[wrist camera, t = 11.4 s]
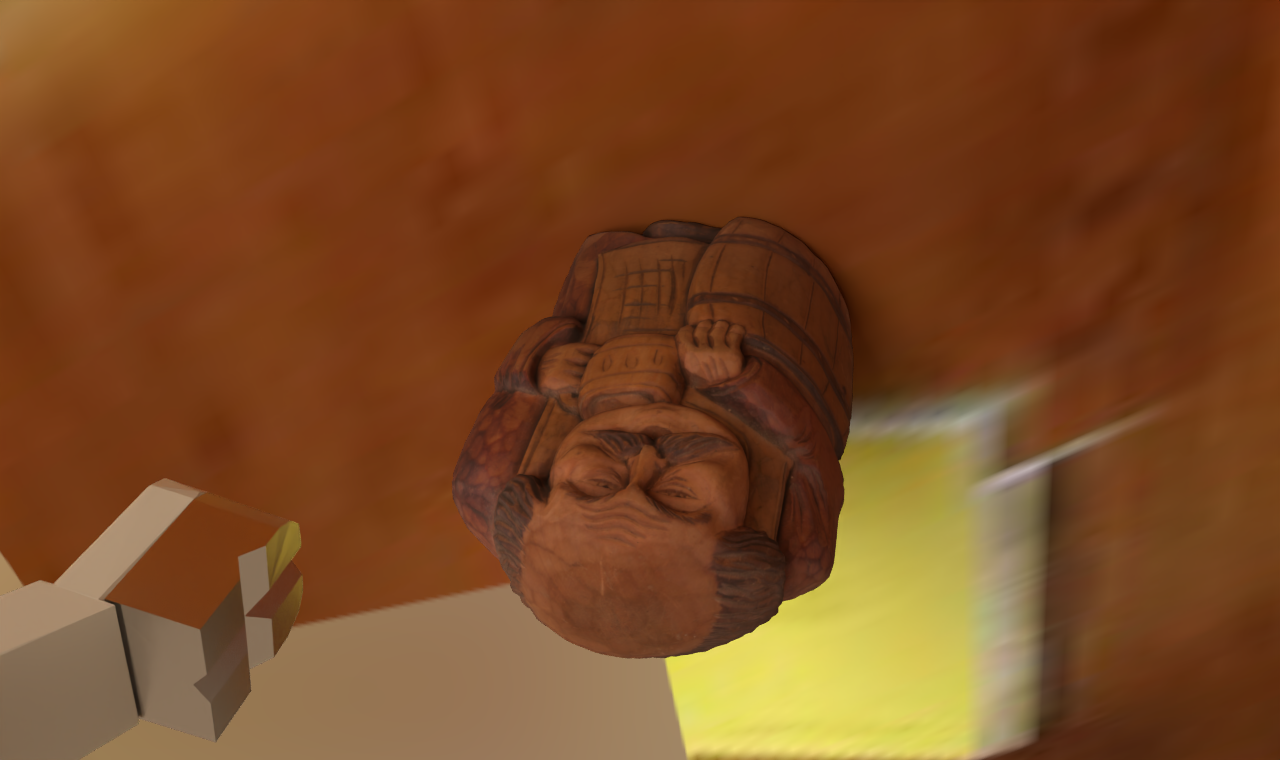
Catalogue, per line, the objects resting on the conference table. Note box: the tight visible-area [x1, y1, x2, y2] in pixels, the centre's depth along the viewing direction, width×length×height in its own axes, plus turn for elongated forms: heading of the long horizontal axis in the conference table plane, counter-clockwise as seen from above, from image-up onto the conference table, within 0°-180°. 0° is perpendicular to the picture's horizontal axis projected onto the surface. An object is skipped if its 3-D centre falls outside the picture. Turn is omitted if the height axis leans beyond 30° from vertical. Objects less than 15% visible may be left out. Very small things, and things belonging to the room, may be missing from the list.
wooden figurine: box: [452, 217, 854, 659], centre depth 35 cm, size 12×6×18 cm, turn 96°
